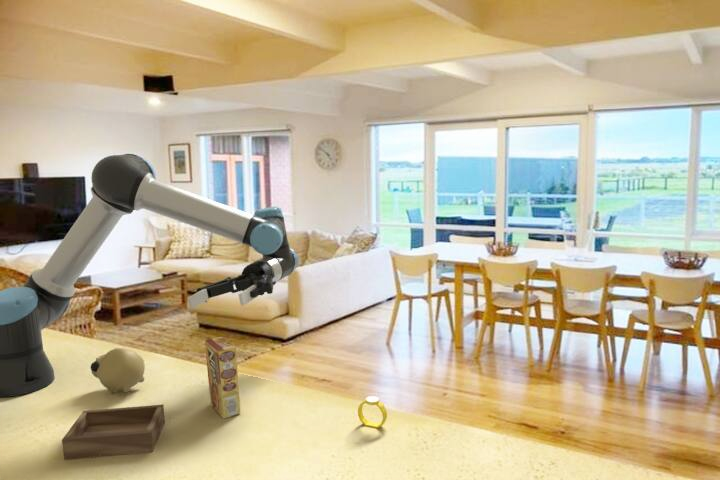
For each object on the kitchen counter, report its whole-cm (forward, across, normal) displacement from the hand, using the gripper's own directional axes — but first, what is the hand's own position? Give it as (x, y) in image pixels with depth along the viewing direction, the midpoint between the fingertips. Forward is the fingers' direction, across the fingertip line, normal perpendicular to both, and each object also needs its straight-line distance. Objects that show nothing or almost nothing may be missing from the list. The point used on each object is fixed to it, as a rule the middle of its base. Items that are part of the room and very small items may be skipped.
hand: (214, 301), depth 130 cm
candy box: (+6, 0, -23) cm, 24 cm away
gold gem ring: (+4, -34, -28) cm, 44 cm away
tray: (+24, +12, -20) cm, 34 cm away
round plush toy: (+4, +29, -19) cm, 35 cm away
